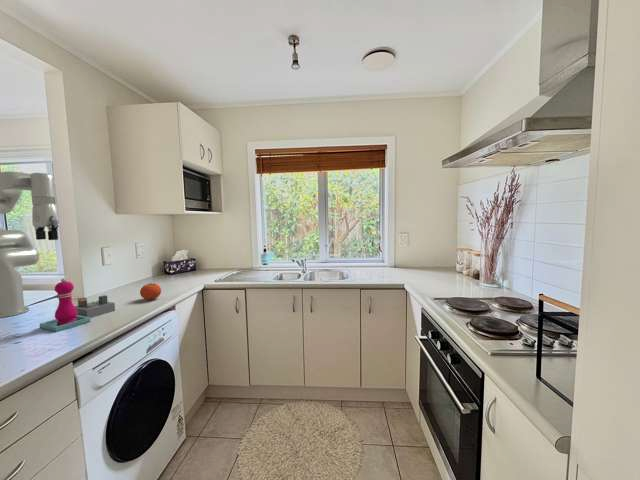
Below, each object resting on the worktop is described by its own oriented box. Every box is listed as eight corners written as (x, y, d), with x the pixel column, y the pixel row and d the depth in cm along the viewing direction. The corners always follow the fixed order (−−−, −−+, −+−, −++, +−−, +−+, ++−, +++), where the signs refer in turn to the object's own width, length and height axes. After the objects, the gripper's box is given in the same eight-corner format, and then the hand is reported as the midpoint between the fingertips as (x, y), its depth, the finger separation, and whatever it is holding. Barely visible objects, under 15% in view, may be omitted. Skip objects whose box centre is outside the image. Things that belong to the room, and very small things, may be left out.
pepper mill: (76, 319, 124) (73, 275, 123) (79, 323, 119) (76, 277, 118) (54, 324, 119) (50, 278, 117) (56, 328, 114) (52, 280, 112)
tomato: (151, 302, 151) (150, 284, 150) (135, 301, 153) (134, 283, 152) (165, 297, 161) (165, 280, 160) (150, 296, 163) (149, 279, 162)
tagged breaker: (78, 306, 132) (77, 298, 132) (84, 304, 134) (83, 297, 134) (81, 306, 131) (80, 299, 131) (87, 305, 133) (87, 297, 133)
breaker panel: (71, 315, 131) (71, 306, 131) (99, 307, 143) (99, 299, 142) (87, 318, 127) (86, 309, 127) (114, 310, 138) (114, 302, 138)
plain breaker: (99, 303, 136) (98, 296, 135) (104, 302, 138) (103, 295, 138) (102, 304, 135) (101, 297, 134) (107, 302, 137) (107, 295, 137)
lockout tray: (40, 328, 116) (39, 323, 116) (74, 318, 127) (73, 314, 127) (56, 332, 112) (56, 327, 112) (90, 322, 123) (90, 317, 123)
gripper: (22, 201, 124) (25, 239, 125) (43, 200, 118) (47, 240, 119) (44, 202, 131) (47, 238, 132) (65, 201, 125) (68, 239, 126)
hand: (47, 239), depth 126 cm, fingers open, 9 cm apart
